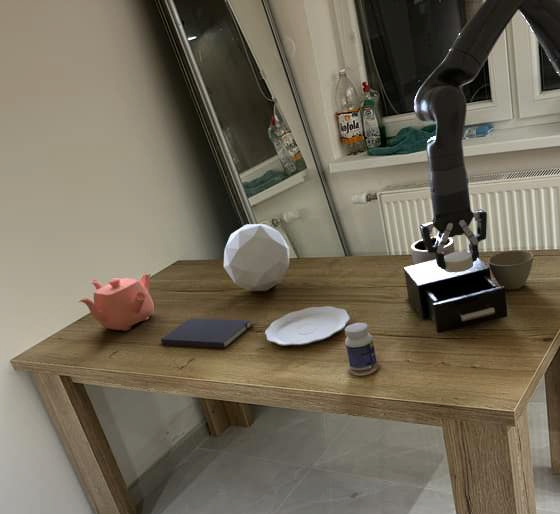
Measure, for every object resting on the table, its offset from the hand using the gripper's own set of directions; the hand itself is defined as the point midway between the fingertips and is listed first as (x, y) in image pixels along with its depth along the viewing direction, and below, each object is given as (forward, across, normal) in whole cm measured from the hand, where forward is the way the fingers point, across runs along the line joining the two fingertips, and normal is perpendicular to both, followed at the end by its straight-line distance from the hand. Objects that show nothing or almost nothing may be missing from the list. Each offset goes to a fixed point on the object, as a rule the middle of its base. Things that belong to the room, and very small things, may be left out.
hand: (458, 264), depth 147 cm
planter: (+14, -2, -28) cm, 31 cm away
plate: (+14, +34, -15) cm, 40 cm away
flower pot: (+14, -16, -12) cm, 24 cm away
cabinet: (+13, 0, -12) cm, 18 cm away
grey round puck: (+1, 0, 0) cm, 1 cm away
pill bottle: (+14, +25, +12) cm, 31 cm away
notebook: (+14, +60, -28) cm, 68 cm away
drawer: (+12, 0, +2) cm, 13 cm away
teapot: (+14, +85, -52) cm, 101 cm away
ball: (+14, +43, -54) cm, 71 cm away
